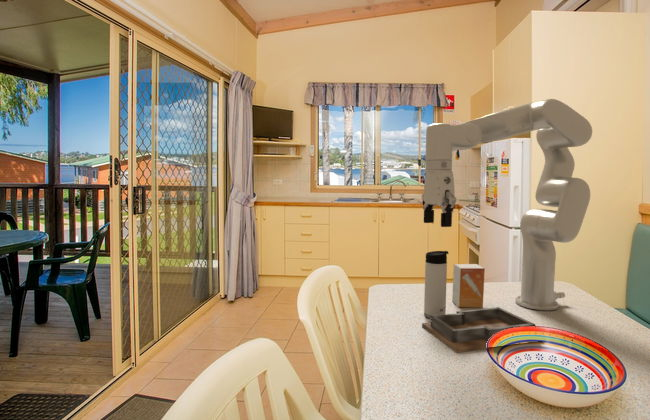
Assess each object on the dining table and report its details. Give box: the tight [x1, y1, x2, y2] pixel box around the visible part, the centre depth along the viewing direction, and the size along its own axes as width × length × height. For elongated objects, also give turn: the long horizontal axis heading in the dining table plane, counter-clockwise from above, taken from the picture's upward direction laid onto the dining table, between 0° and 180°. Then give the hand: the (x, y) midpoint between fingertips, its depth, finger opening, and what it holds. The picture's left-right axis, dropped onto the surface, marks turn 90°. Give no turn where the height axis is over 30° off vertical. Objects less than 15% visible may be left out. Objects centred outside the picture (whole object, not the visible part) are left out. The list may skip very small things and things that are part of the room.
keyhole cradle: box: [421, 306, 536, 353], centre depth 107 cm, size 25×17×4 cm
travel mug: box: [423, 250, 449, 320], centre depth 119 cm, size 6×7×20 cm
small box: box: [451, 263, 486, 308], centre depth 131 cm, size 8×6×13 cm
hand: (437, 224), depth 118 cm, fingers open, 9 cm apart
